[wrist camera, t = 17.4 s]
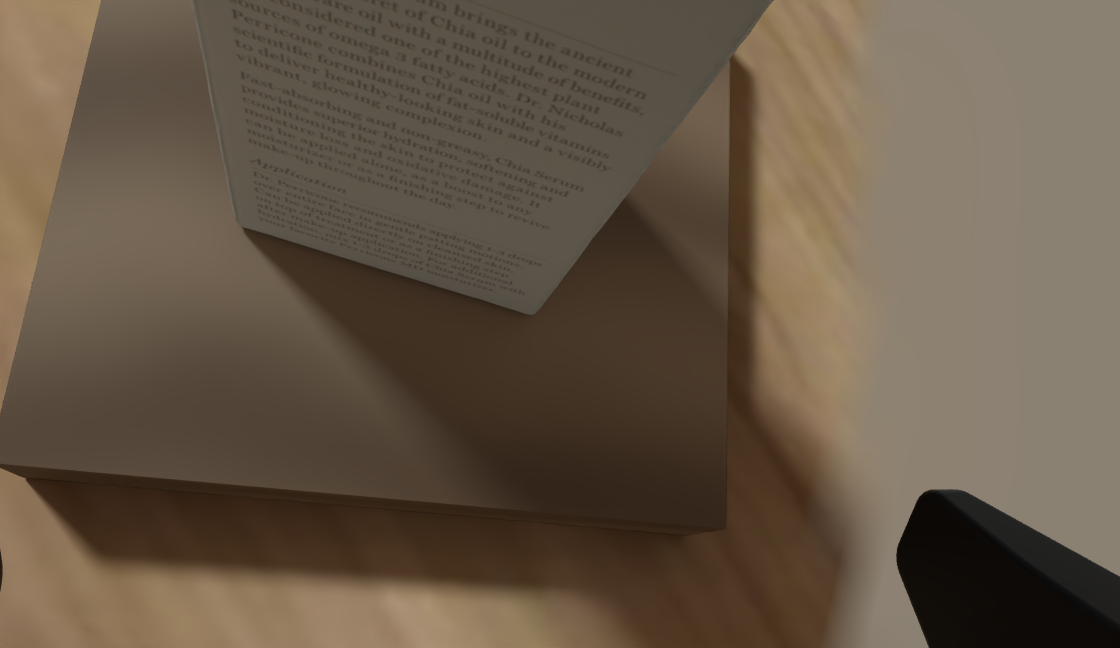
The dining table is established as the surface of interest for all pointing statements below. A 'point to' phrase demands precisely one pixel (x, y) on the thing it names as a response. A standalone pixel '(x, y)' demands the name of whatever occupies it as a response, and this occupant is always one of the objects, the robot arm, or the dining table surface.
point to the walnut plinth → (359, 333)
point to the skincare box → (454, 124)
